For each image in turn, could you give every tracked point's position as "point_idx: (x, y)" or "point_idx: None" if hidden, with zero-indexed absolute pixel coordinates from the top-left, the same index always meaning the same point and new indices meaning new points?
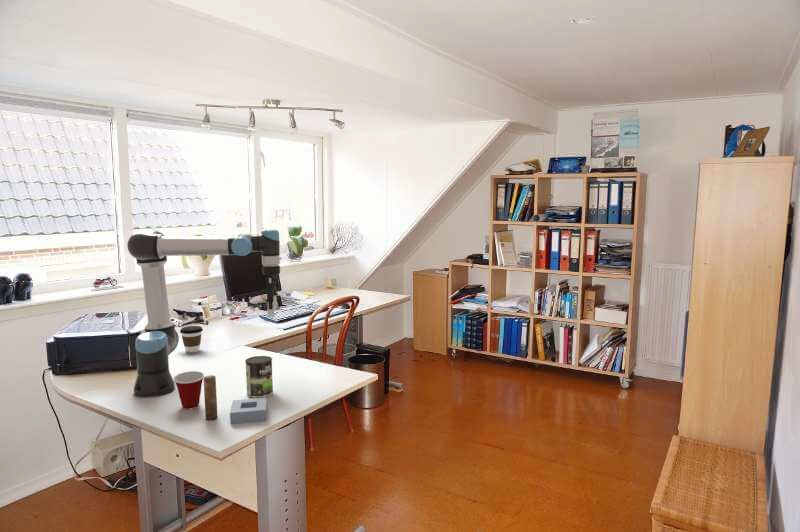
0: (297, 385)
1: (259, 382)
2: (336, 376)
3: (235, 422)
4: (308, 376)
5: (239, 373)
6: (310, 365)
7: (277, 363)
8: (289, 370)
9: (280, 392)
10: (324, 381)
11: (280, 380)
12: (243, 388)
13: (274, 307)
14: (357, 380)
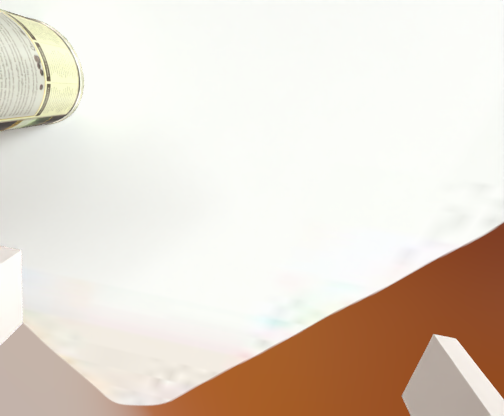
0: (95, 215)
1: None
2: (152, 338)
3: None
4: (179, 265)
5: (319, 11)
6: (299, 294)
7: (383, 191)
8: (272, 219)
9: (34, 149)
10: (114, 298)
11: (165, 169)
12: (108, 11)
13: (429, 410)
14: (99, 376)
